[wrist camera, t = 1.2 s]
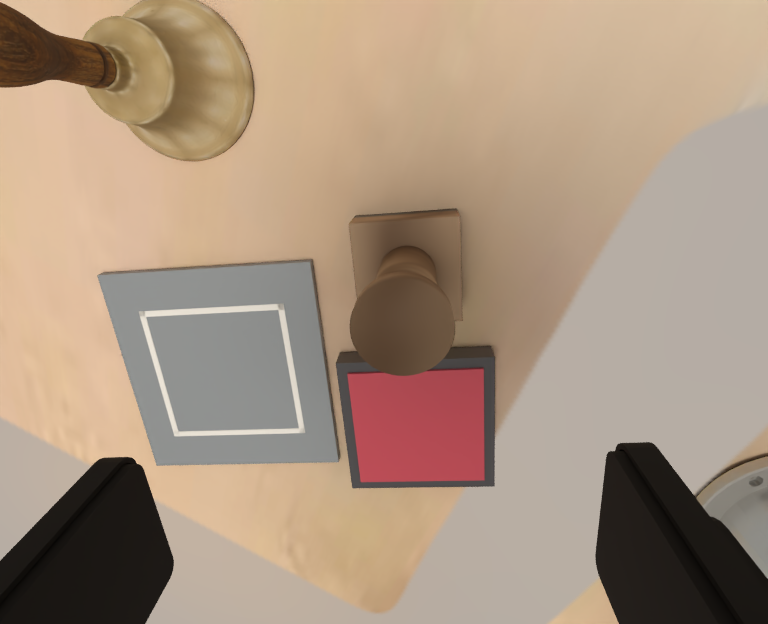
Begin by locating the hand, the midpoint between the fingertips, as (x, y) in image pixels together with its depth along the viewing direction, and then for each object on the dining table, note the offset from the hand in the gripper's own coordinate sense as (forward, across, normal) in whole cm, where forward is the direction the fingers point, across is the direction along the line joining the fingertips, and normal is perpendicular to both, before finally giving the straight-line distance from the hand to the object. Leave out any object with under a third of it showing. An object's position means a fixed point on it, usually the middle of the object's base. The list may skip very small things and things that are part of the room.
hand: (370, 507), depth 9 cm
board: (+20, +12, +7) cm, 25 cm away
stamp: (+20, 0, 0) cm, 21 cm away
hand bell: (+21, +12, -11) cm, 26 cm away
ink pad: (+20, 0, +11) cm, 23 cm away
